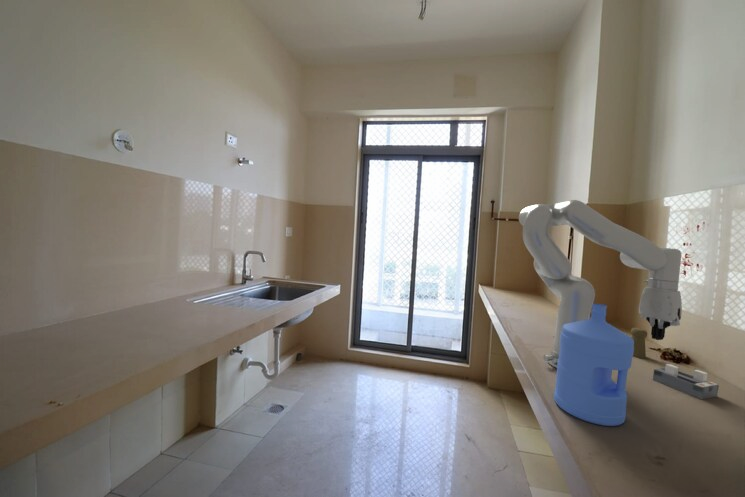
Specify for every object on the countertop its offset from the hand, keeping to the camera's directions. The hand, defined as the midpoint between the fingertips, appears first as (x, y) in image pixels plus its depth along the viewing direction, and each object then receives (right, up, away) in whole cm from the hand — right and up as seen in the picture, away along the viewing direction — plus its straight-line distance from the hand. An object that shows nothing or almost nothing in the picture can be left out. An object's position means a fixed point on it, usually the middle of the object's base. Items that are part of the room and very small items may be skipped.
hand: (657, 338), depth 108 cm
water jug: (-39, -12, -23) cm, 47 cm away
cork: (+11, -13, +22) cm, 27 cm away
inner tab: (0, -11, -4) cm, 12 cm away
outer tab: (+6, -12, -8) cm, 16 cm away
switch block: (+3, -14, -6) cm, 15 cm away
